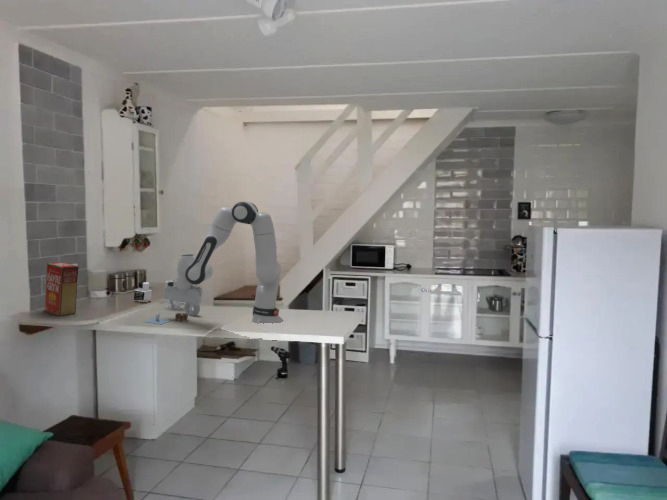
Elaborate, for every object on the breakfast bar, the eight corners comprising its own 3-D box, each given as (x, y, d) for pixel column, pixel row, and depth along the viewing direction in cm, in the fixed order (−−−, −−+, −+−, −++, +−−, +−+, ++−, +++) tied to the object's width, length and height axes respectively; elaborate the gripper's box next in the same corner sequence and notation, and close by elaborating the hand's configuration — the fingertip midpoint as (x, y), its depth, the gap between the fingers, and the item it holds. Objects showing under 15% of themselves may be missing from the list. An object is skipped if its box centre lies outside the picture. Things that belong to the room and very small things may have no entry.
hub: (170, 322, 260) (171, 312, 259) (161, 326, 250) (162, 316, 249) (152, 319, 261) (153, 309, 260) (143, 323, 251) (143, 313, 250)
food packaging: (43, 310, 252) (46, 262, 250) (60, 308, 260) (63, 261, 258) (59, 316, 246) (62, 267, 244) (76, 313, 254) (80, 266, 252)
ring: (188, 319, 266) (189, 314, 265) (184, 321, 260) (184, 316, 259) (178, 317, 266) (178, 312, 266) (173, 320, 260) (173, 314, 260)
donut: (181, 315, 276) (183, 297, 275) (185, 314, 279) (187, 297, 278) (196, 318, 272) (198, 301, 272) (200, 317, 276) (202, 300, 275)
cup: (171, 312, 279) (173, 284, 278) (159, 307, 286) (161, 280, 285) (188, 310, 289) (191, 283, 287) (176, 305, 296) (179, 279, 294)
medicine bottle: (133, 301, 294) (135, 281, 293) (141, 299, 301) (142, 280, 300) (143, 303, 292) (145, 283, 291) (151, 301, 299) (152, 282, 298)
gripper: (204, 286, 263) (201, 311, 264) (168, 280, 265) (166, 305, 267) (200, 288, 257) (197, 314, 258) (163, 282, 259) (160, 307, 261)
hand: (181, 309), depth 262 cm, fingers open, 8 cm apart
